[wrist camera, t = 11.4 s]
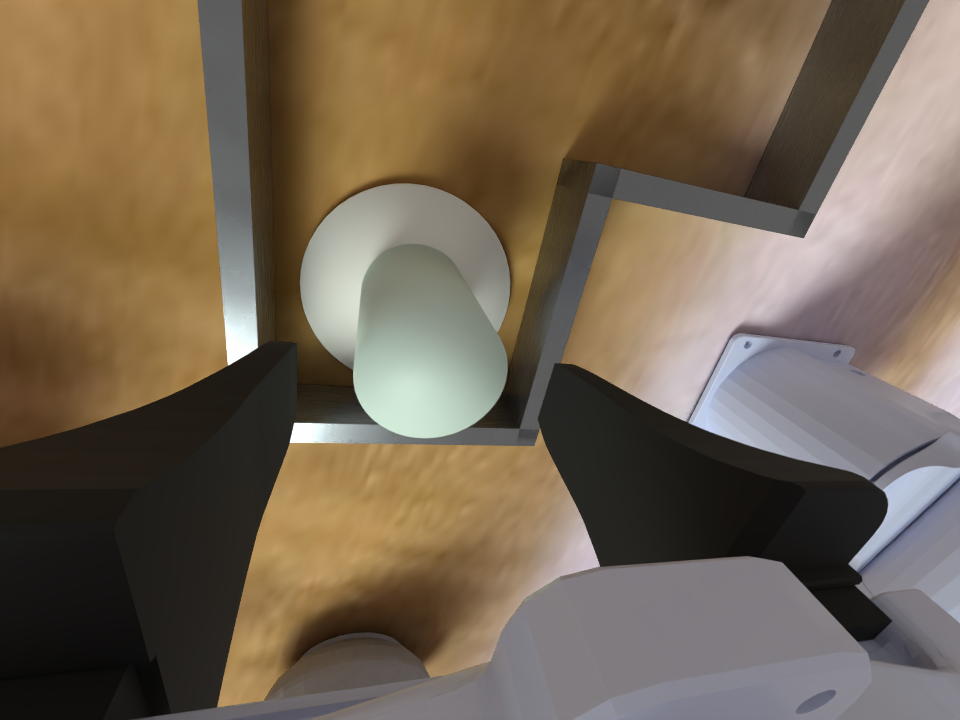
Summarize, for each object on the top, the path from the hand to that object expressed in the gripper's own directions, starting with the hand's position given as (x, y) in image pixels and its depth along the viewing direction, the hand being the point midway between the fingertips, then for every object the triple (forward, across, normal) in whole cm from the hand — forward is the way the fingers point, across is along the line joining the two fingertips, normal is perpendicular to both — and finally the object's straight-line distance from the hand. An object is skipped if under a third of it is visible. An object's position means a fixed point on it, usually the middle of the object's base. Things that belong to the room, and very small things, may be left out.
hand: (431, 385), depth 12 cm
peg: (+8, 0, 0) cm, 8 cm away
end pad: (+8, 0, 0) cm, 8 cm away
